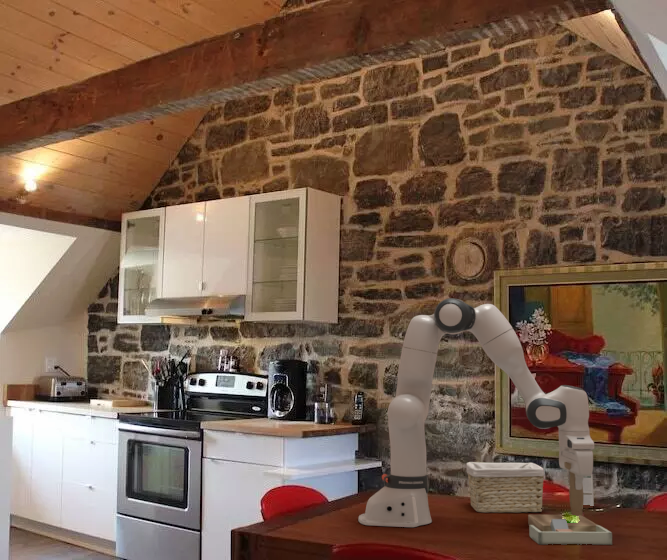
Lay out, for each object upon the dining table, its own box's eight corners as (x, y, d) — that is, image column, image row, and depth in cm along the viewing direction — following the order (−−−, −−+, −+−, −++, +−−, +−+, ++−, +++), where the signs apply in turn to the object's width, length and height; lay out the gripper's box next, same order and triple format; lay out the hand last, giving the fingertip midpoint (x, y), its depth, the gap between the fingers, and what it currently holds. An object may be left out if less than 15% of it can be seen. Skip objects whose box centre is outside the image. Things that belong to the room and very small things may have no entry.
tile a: (555, 528, 221) (555, 538, 221) (560, 532, 217) (560, 541, 217) (569, 528, 221) (569, 538, 221) (574, 532, 217) (574, 541, 217)
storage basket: (473, 513, 259) (472, 467, 260) (465, 504, 275) (465, 461, 276) (546, 514, 258) (545, 468, 260) (534, 505, 275) (534, 461, 276)
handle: (589, 516, 231) (587, 464, 232) (566, 515, 232) (564, 463, 234) (587, 513, 235) (586, 462, 237) (564, 512, 237) (563, 461, 238)
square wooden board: (543, 536, 225) (543, 525, 226) (528, 524, 241) (528, 514, 242) (599, 536, 226) (599, 525, 226) (580, 524, 242) (580, 514, 242)
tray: (539, 544, 215) (538, 532, 216) (529, 536, 225) (529, 524, 225) (612, 544, 216) (611, 532, 216) (599, 536, 225) (599, 525, 226)
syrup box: (594, 509, 267) (593, 465, 268) (575, 508, 269) (574, 464, 270) (593, 506, 272) (592, 463, 274) (575, 505, 274) (574, 462, 276)
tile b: (553, 536, 223) (555, 531, 221) (550, 524, 226) (551, 519, 224) (567, 536, 223) (569, 531, 221) (564, 524, 226) (565, 519, 224)
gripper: (553, 437, 246) (554, 482, 245) (574, 443, 226) (575, 493, 225) (573, 437, 246) (574, 482, 245) (596, 444, 226) (598, 493, 225)
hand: (575, 488), depth 235 cm, fingers closed on handle, 4 cm apart
